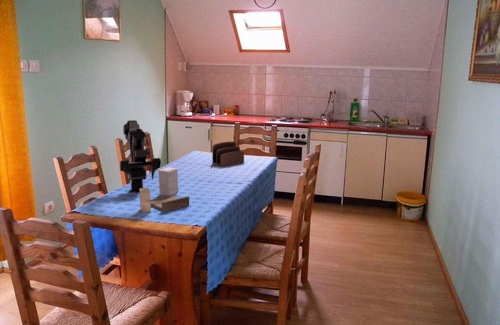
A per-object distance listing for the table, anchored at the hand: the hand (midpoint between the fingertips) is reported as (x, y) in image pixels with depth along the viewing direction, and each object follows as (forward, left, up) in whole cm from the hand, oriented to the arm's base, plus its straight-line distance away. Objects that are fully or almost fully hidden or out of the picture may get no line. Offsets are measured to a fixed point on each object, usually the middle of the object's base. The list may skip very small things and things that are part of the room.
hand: (142, 179), depth 199 cm
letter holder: (-96, +8, -13) cm, 97 cm away
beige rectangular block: (+5, +4, -13) cm, 15 cm away
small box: (-22, +2, -13) cm, 25 cm away
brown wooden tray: (-6, +9, -13) cm, 17 cm away
